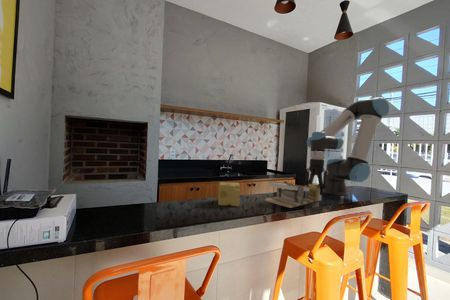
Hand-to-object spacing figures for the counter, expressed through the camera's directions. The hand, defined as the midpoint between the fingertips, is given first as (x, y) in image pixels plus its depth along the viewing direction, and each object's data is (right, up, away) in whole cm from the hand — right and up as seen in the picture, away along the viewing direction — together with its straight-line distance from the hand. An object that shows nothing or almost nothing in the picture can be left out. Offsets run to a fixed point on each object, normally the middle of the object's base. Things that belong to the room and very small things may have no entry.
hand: (314, 199), depth 133 cm
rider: (0, 0, 0) cm, 0 cm away
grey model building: (-17, +4, -8) cm, 19 cm away
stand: (-17, 0, -7) cm, 18 cm away
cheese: (-50, +1, -18) cm, 53 cm away
